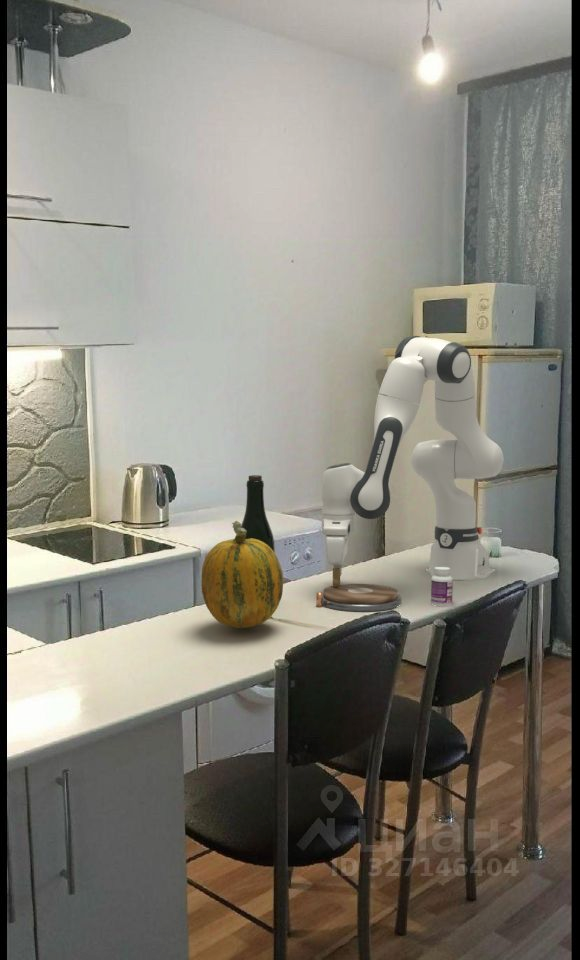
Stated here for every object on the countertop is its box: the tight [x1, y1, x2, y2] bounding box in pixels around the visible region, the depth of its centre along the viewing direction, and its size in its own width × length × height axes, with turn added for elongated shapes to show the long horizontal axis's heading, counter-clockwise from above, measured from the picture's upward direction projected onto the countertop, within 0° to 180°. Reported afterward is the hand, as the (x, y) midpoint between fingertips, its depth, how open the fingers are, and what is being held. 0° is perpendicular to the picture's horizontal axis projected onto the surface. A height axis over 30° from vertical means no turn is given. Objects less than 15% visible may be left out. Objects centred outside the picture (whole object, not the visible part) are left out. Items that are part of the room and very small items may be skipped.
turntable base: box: [315, 591, 403, 613], centre depth 238 cm, size 21×21×4 cm
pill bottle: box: [430, 567, 454, 608], centre depth 235 cm, size 5×5×10 cm
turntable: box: [322, 567, 399, 605], centre depth 238 cm, size 19×19×6 cm
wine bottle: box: [241, 474, 276, 554], centre depth 235 cm, size 10×10×33 cm
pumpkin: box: [200, 520, 284, 629], centre depth 214 cm, size 19×19×25 cm
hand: (337, 575), depth 248 cm, fingers closed
